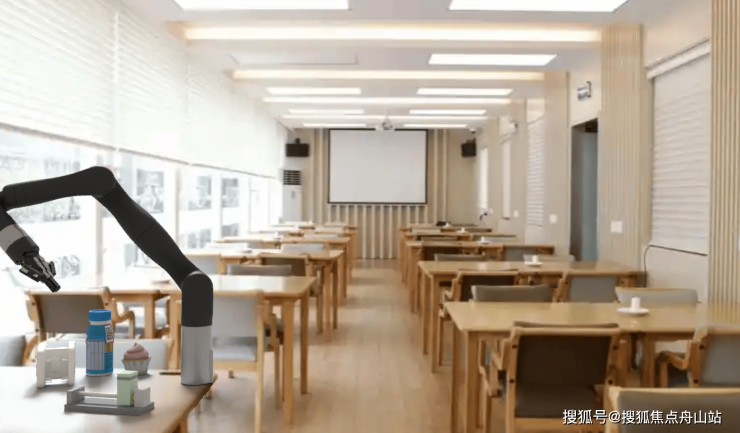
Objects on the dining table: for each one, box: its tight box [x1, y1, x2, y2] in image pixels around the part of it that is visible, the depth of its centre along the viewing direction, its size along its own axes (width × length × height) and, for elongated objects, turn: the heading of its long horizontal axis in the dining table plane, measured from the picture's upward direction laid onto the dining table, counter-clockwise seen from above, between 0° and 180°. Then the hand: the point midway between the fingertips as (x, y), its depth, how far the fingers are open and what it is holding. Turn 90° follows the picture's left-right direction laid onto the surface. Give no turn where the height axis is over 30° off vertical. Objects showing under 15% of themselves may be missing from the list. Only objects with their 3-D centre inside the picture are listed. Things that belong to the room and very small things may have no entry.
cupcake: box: [120, 342, 152, 376], centre depth 237 cm, size 9×9×10 cm
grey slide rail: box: [63, 385, 155, 416], centre depth 195 cm, size 21×8×6 cm, turn 78°
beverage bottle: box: [84, 308, 115, 377], centre depth 236 cm, size 8×8×20 cm
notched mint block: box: [116, 369, 139, 406], centre depth 194 cm, size 4×4×8 cm
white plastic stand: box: [34, 340, 76, 389], centre depth 223 cm, size 15×11×12 cm
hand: (57, 290), depth 204 cm, fingers closed
